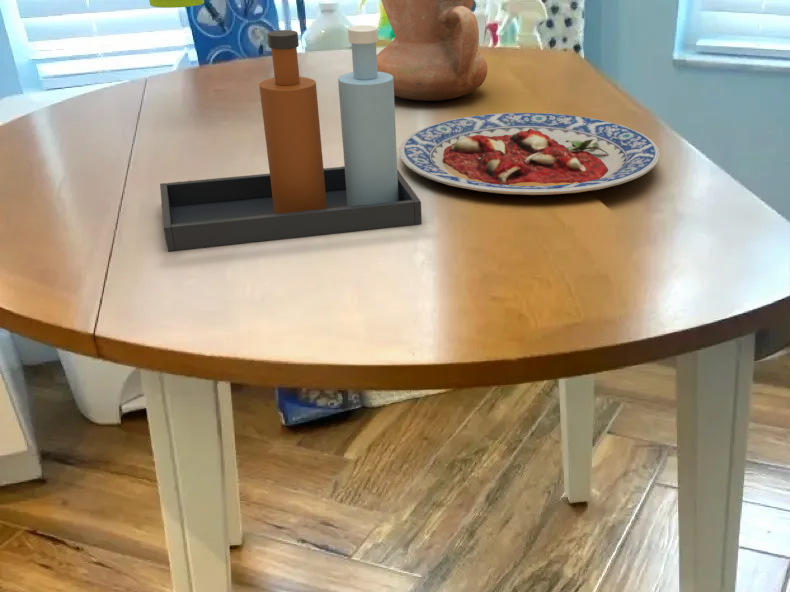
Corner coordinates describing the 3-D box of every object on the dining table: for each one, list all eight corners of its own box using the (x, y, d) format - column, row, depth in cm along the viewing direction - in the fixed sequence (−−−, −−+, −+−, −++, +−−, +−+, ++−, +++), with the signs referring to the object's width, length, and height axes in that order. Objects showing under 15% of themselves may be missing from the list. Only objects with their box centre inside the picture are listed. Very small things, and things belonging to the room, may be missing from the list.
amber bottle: (278, 225, 82) (256, 40, 74) (271, 207, 86) (250, 29, 78) (331, 219, 83) (315, 36, 75) (322, 202, 87) (307, 25, 79)
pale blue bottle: (352, 217, 84) (339, 35, 75) (343, 199, 87) (329, 24, 79) (404, 211, 85) (396, 31, 76) (392, 195, 88) (384, 21, 80)
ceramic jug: (348, 88, 124) (340, -34, 116) (444, 74, 130) (442, -43, 122) (417, 121, 111) (413, -14, 103) (520, 103, 118) (523, -26, 110)
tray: (169, 260, 78) (163, 227, 77) (165, 213, 87) (159, 183, 85) (422, 232, 83) (421, 201, 81) (393, 191, 92) (392, 161, 90)
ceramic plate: (428, 226, 84) (427, 193, 82) (381, 142, 105) (379, 114, 103) (700, 201, 89) (705, 169, 87) (604, 125, 109) (606, 98, 108)
